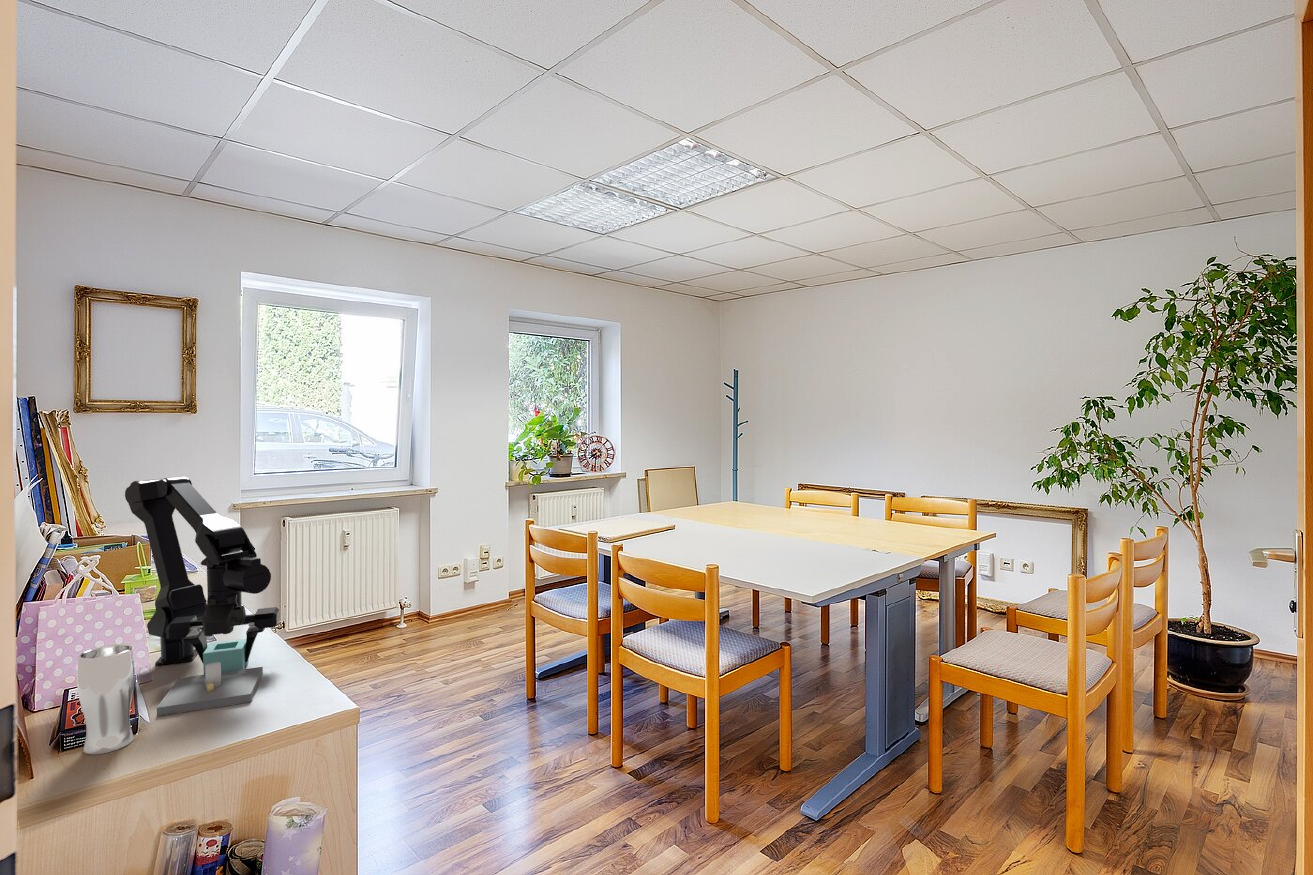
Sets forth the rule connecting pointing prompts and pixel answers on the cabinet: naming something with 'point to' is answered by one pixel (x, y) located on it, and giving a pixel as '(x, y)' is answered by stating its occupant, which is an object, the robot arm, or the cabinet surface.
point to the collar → (226, 655)
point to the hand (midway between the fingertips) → (226, 664)
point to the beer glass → (106, 696)
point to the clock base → (211, 690)
